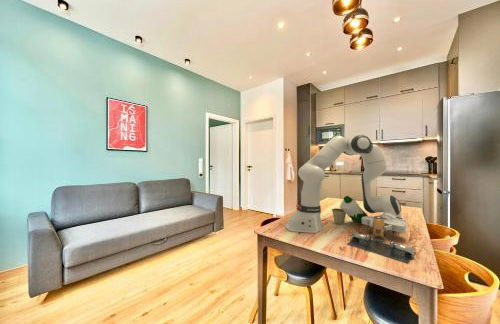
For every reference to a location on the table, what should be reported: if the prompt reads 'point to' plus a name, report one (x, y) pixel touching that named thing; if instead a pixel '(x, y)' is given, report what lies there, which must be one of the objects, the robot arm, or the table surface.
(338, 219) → the flower pot
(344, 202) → the milk carton
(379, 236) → the amber capped cylinder
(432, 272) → the table surface
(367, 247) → the shaft bench
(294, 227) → the robot arm
